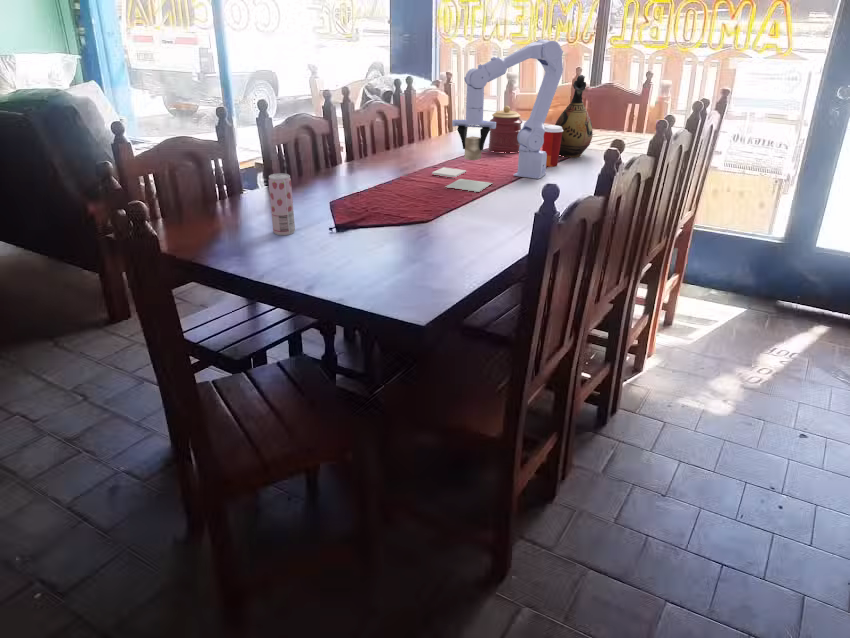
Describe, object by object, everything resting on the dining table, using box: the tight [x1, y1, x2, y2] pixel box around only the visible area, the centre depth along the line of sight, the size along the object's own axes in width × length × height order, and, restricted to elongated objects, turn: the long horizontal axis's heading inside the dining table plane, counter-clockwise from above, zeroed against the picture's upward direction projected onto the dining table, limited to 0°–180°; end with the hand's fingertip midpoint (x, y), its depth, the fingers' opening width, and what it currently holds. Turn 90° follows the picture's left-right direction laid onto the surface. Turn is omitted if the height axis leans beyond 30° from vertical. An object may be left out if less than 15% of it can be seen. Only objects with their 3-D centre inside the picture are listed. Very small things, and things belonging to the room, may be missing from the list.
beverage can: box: [268, 172, 296, 236], centre depth 172 cm, size 6×6×15 cm
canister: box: [488, 105, 523, 153], centre depth 267 cm, size 13×13×18 cm
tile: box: [431, 166, 467, 178], centre depth 234 cm, size 2×9×9 cm
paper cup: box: [541, 124, 563, 168], centre depth 245 cm, size 8×8×14 cm
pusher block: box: [464, 135, 482, 161], centre depth 225 cm, size 4×4×7 cm
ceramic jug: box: [554, 74, 594, 159], centre depth 258 cm, size 17×15×30 cm
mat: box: [444, 178, 494, 193], centre depth 219 cm, size 12×12×1 cm
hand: (473, 149), depth 225 cm, fingers closed on pusher block, 5 cm apart
